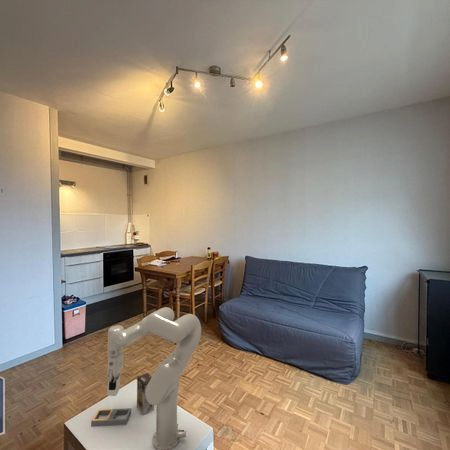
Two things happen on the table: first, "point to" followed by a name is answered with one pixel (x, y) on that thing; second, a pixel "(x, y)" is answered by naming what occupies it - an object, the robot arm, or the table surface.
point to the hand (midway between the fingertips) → (114, 386)
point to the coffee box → (143, 394)
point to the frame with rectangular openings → (111, 417)
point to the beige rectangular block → (114, 392)
